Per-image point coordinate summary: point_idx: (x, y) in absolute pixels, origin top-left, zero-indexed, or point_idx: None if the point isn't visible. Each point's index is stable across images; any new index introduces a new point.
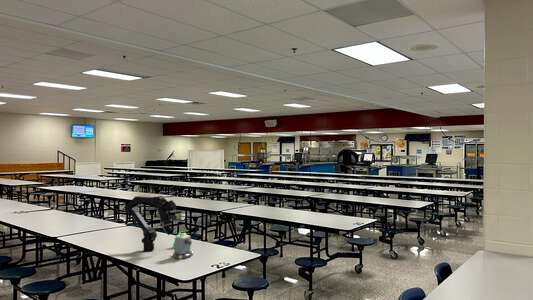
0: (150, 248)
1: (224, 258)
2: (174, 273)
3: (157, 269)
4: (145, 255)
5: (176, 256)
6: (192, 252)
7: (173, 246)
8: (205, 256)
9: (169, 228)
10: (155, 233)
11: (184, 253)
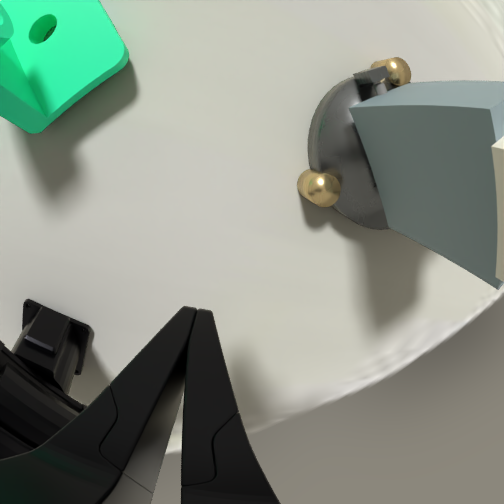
0: (71, 346)
1: (487, 9)
2: None
3: (445, 330)
4: None
5: None
6: (406, 69)
7: (41, 129)
8: (440, 31)
9: (254, 455)
10: (2, 412)
11: None
